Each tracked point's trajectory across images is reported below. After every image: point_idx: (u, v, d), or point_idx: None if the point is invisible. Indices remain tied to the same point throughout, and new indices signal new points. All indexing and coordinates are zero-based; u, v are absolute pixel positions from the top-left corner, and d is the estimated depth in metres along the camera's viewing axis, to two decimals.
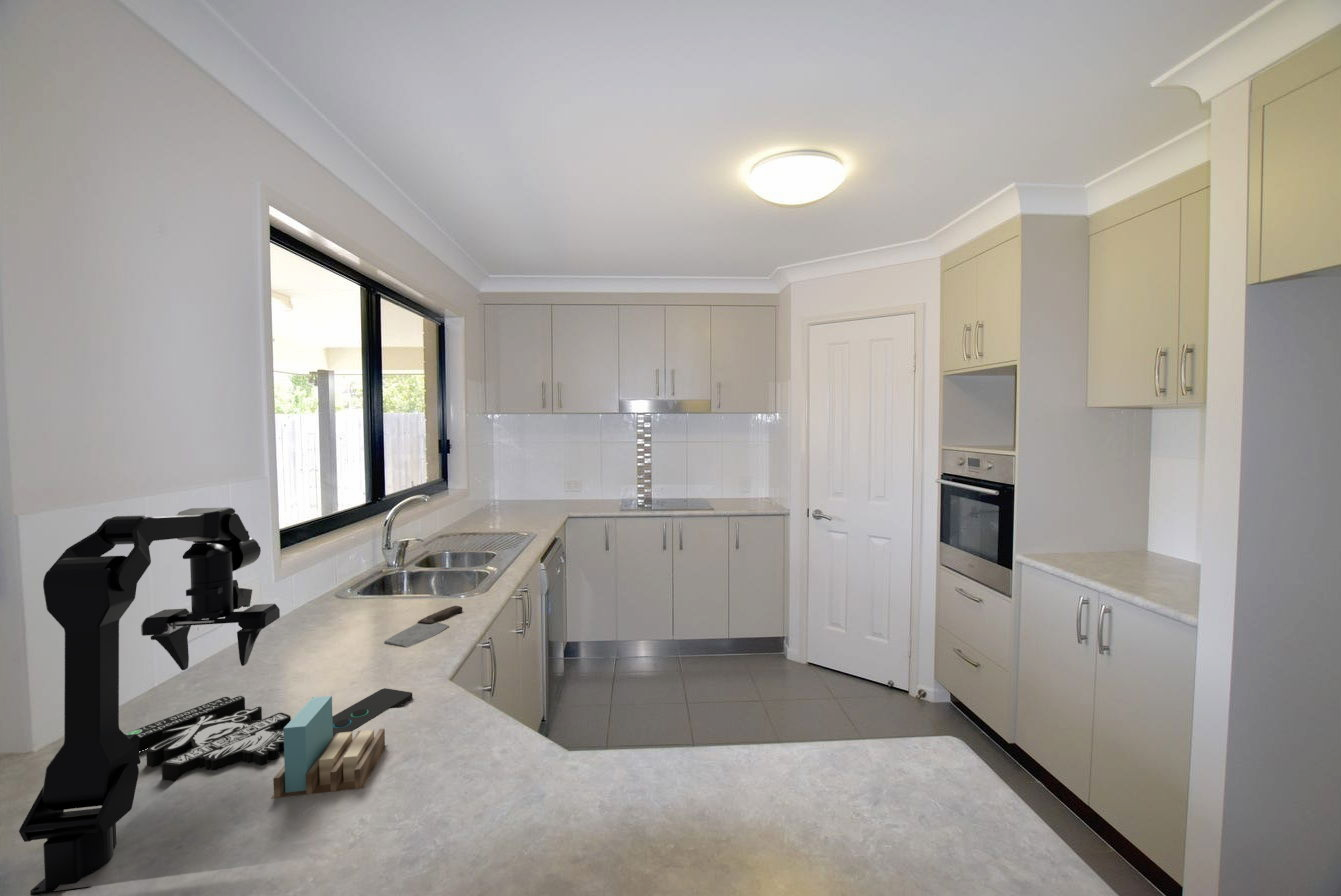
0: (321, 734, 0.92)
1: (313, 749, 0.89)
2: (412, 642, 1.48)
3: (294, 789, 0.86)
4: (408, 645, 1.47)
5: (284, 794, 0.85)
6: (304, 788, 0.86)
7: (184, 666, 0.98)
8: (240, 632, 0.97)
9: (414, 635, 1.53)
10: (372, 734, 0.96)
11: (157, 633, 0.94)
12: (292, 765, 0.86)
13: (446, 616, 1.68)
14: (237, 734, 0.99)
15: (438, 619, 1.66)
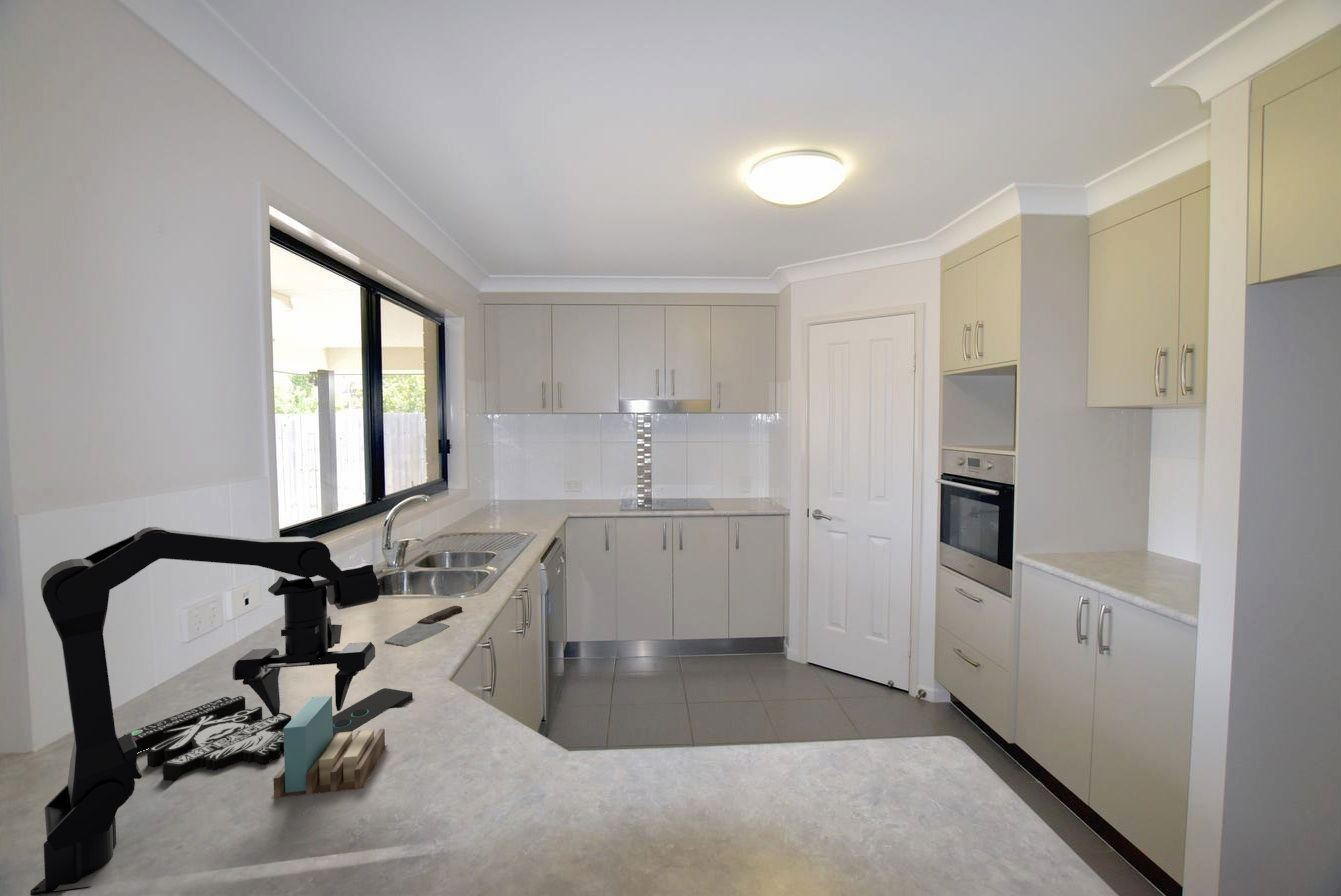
0: (321, 734, 0.92)
1: (313, 749, 0.89)
2: (413, 642, 1.49)
3: (294, 789, 0.86)
4: (408, 645, 1.47)
5: (284, 794, 0.85)
6: (304, 788, 0.86)
7: (276, 712, 0.89)
8: (338, 675, 0.89)
9: (414, 635, 1.53)
10: (372, 734, 0.96)
11: (250, 677, 0.86)
12: (292, 765, 0.86)
13: (446, 616, 1.68)
14: (238, 734, 0.99)
15: (438, 619, 1.66)
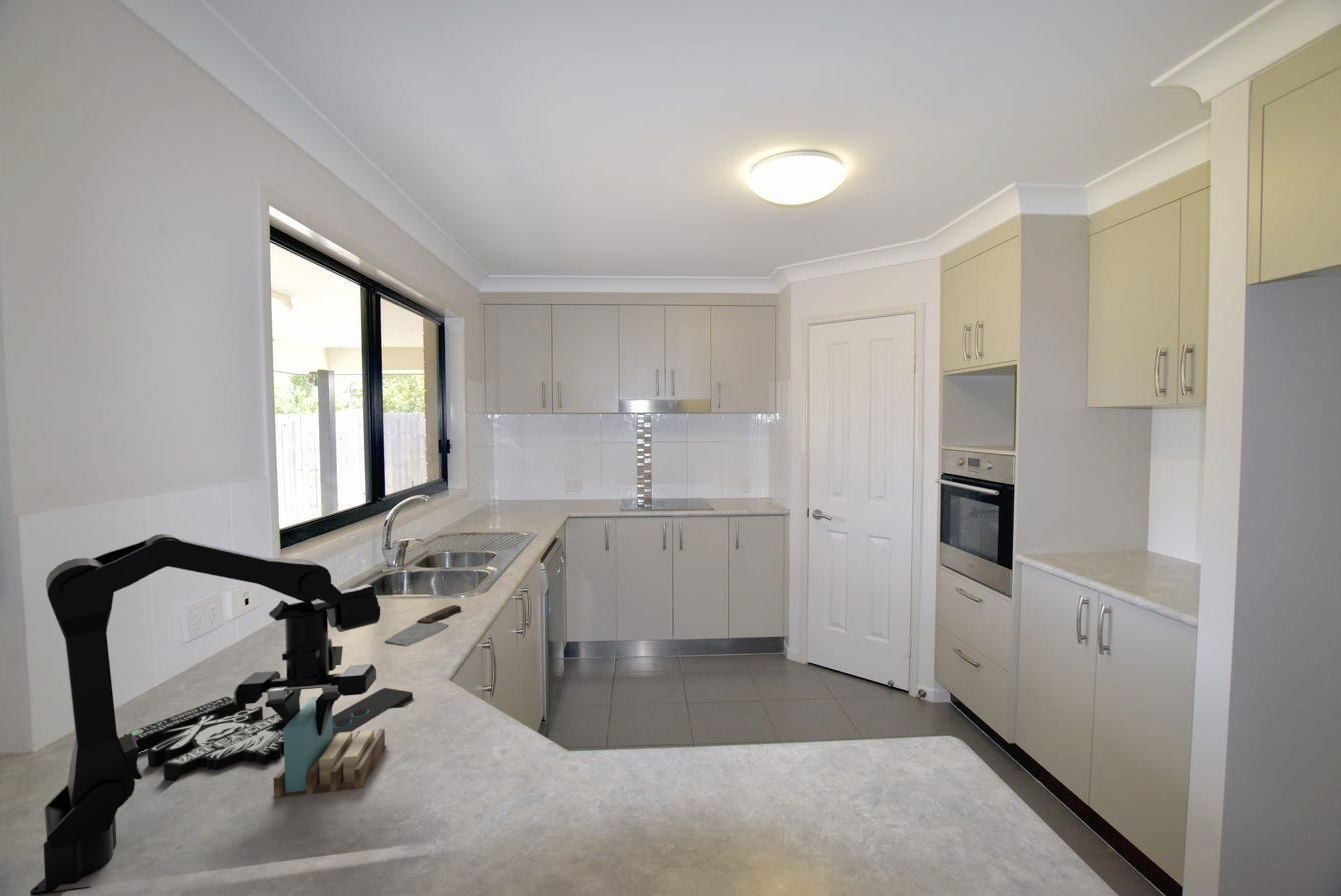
0: None
1: (313, 749, 0.89)
2: (413, 642, 1.49)
3: (294, 789, 0.86)
4: (409, 644, 1.47)
5: (284, 794, 0.85)
6: (304, 788, 0.86)
7: None
8: (319, 700, 0.88)
9: (414, 634, 1.53)
10: (372, 734, 0.96)
11: (251, 702, 0.86)
12: (292, 765, 0.86)
13: (445, 615, 1.69)
14: (239, 734, 0.99)
15: (437, 618, 1.66)
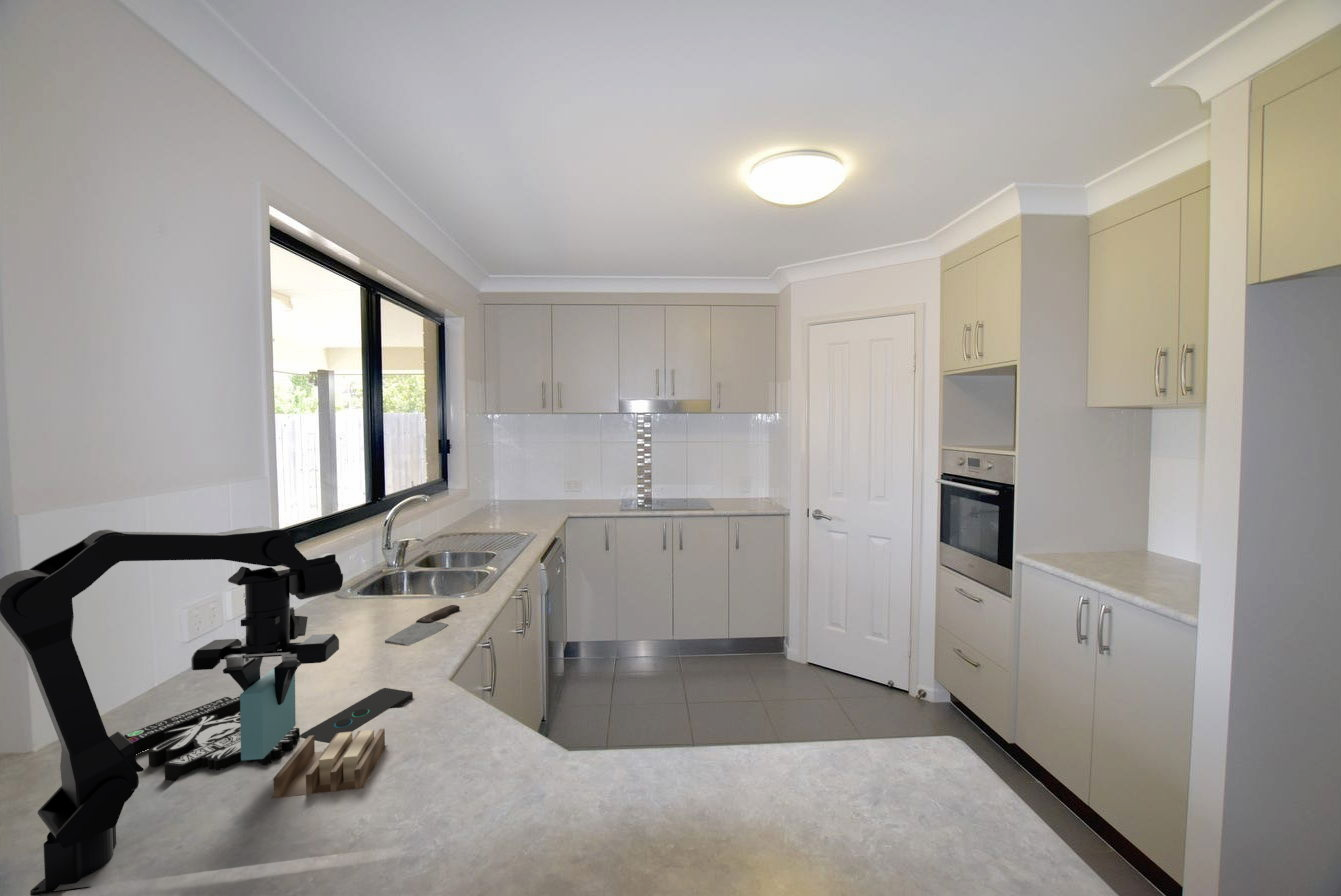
0: (281, 704, 0.90)
1: (272, 718, 0.87)
2: (413, 641, 1.50)
3: (250, 757, 0.85)
4: (409, 644, 1.48)
5: (284, 794, 0.85)
6: (260, 756, 0.85)
7: None
8: (278, 668, 0.87)
9: (414, 634, 1.54)
10: (372, 734, 0.96)
11: (209, 667, 0.85)
12: (248, 732, 0.84)
13: (444, 615, 1.69)
14: (239, 734, 0.99)
15: (436, 618, 1.67)
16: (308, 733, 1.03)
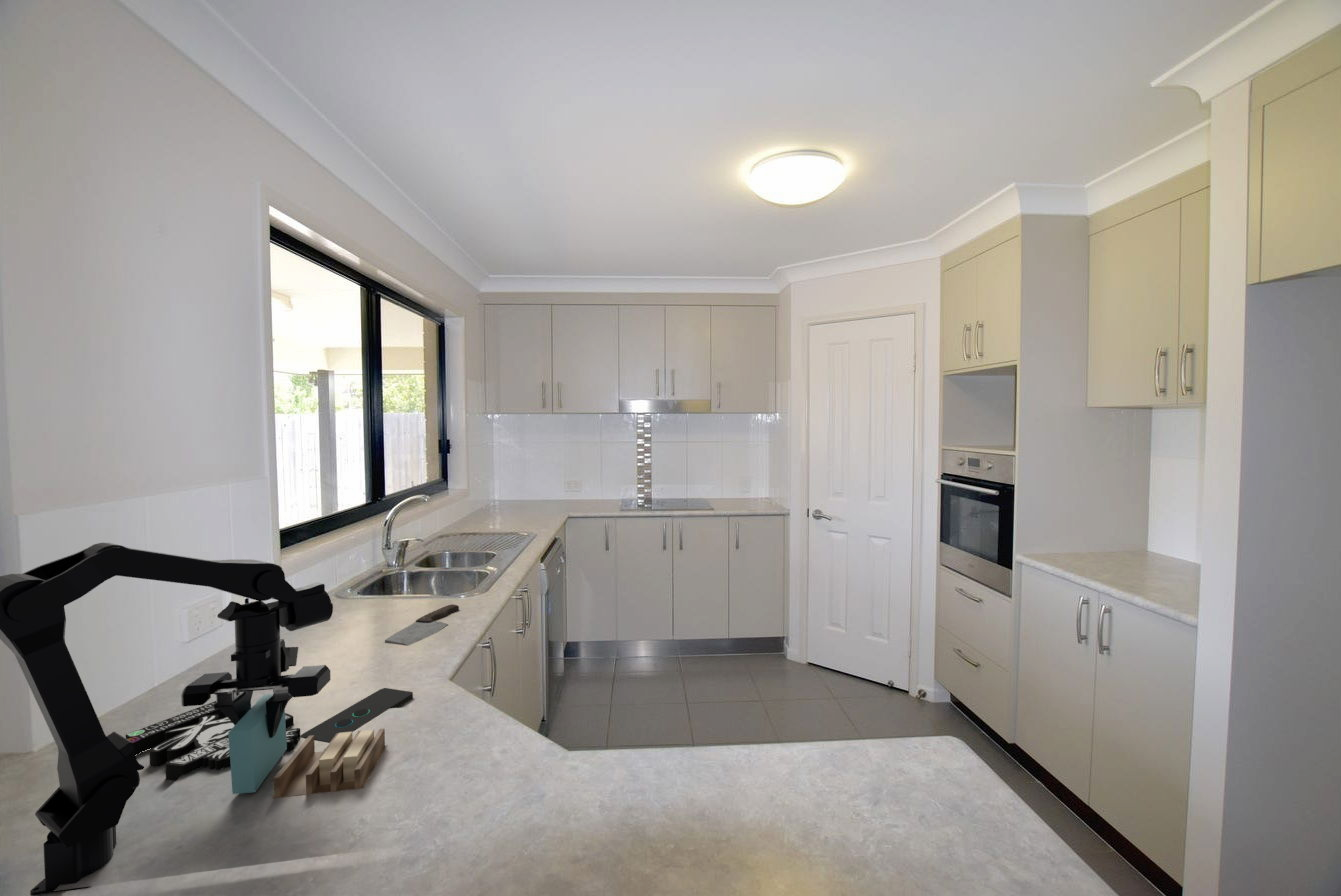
0: None
1: (262, 751, 0.87)
2: (413, 640, 1.50)
3: (241, 790, 0.85)
4: (409, 643, 1.48)
5: (284, 794, 0.85)
6: (252, 790, 0.85)
7: None
8: (269, 702, 0.87)
9: (414, 633, 1.54)
10: (372, 734, 0.96)
11: (199, 703, 0.85)
12: (238, 768, 0.84)
13: (443, 615, 1.69)
14: None
15: (436, 618, 1.67)
16: (309, 733, 1.02)
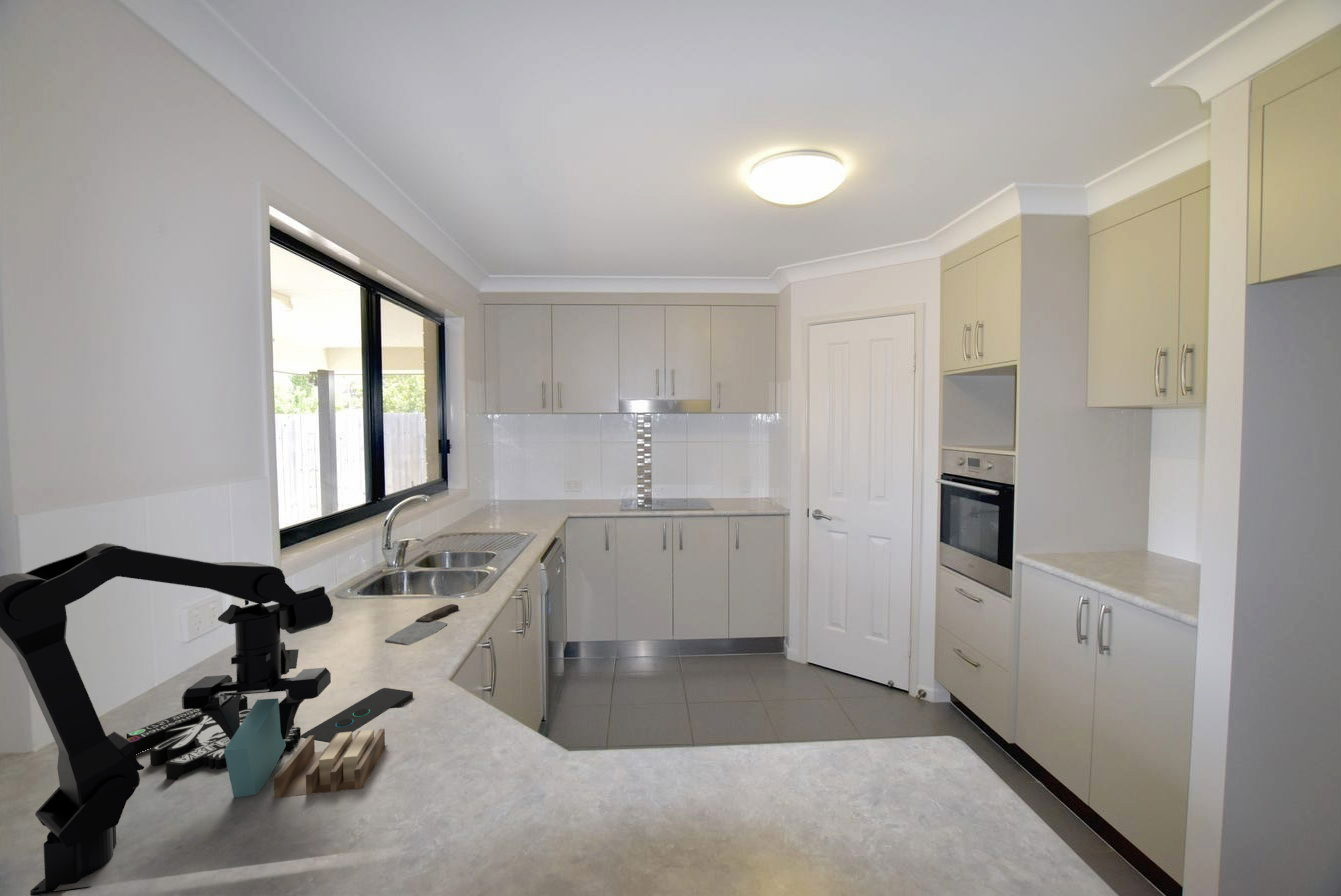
0: (268, 741, 0.89)
1: (260, 760, 0.87)
2: (414, 640, 1.50)
3: None
4: (410, 643, 1.48)
5: (284, 794, 0.85)
6: None
7: None
8: (282, 704, 0.87)
9: (414, 633, 1.54)
10: (372, 734, 0.96)
11: (199, 706, 0.85)
12: (238, 780, 0.84)
13: (443, 614, 1.70)
14: None
15: (435, 617, 1.67)
16: (309, 733, 1.02)
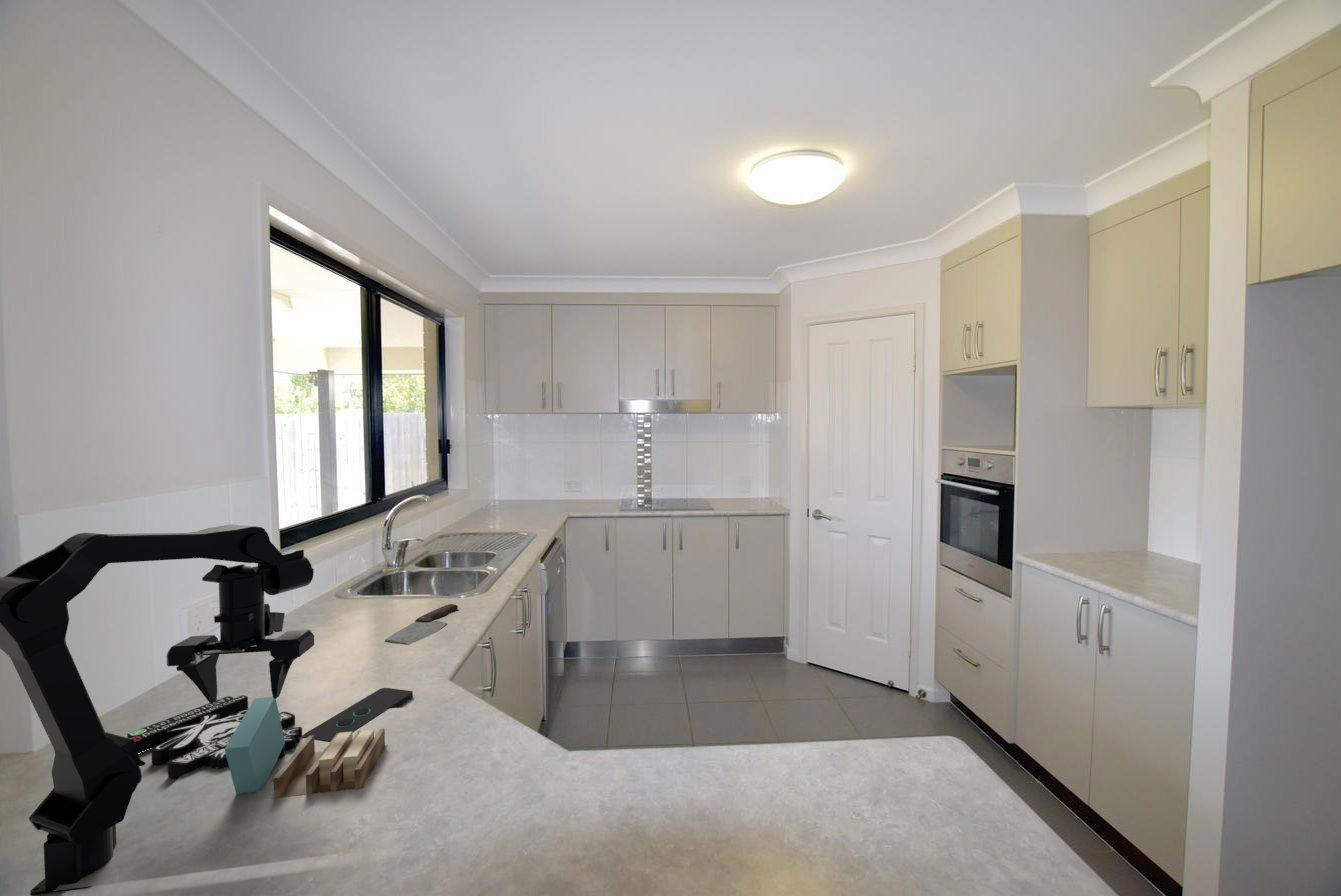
0: (268, 738, 0.90)
1: (261, 757, 0.87)
2: (414, 640, 1.50)
3: None
4: (410, 642, 1.49)
5: (284, 794, 0.85)
6: None
7: (212, 699, 0.89)
8: (272, 662, 0.88)
9: (414, 633, 1.55)
10: (372, 734, 0.96)
11: (183, 664, 0.86)
12: (240, 777, 0.85)
13: (443, 614, 1.70)
14: None
15: (435, 617, 1.68)
16: (310, 733, 1.02)
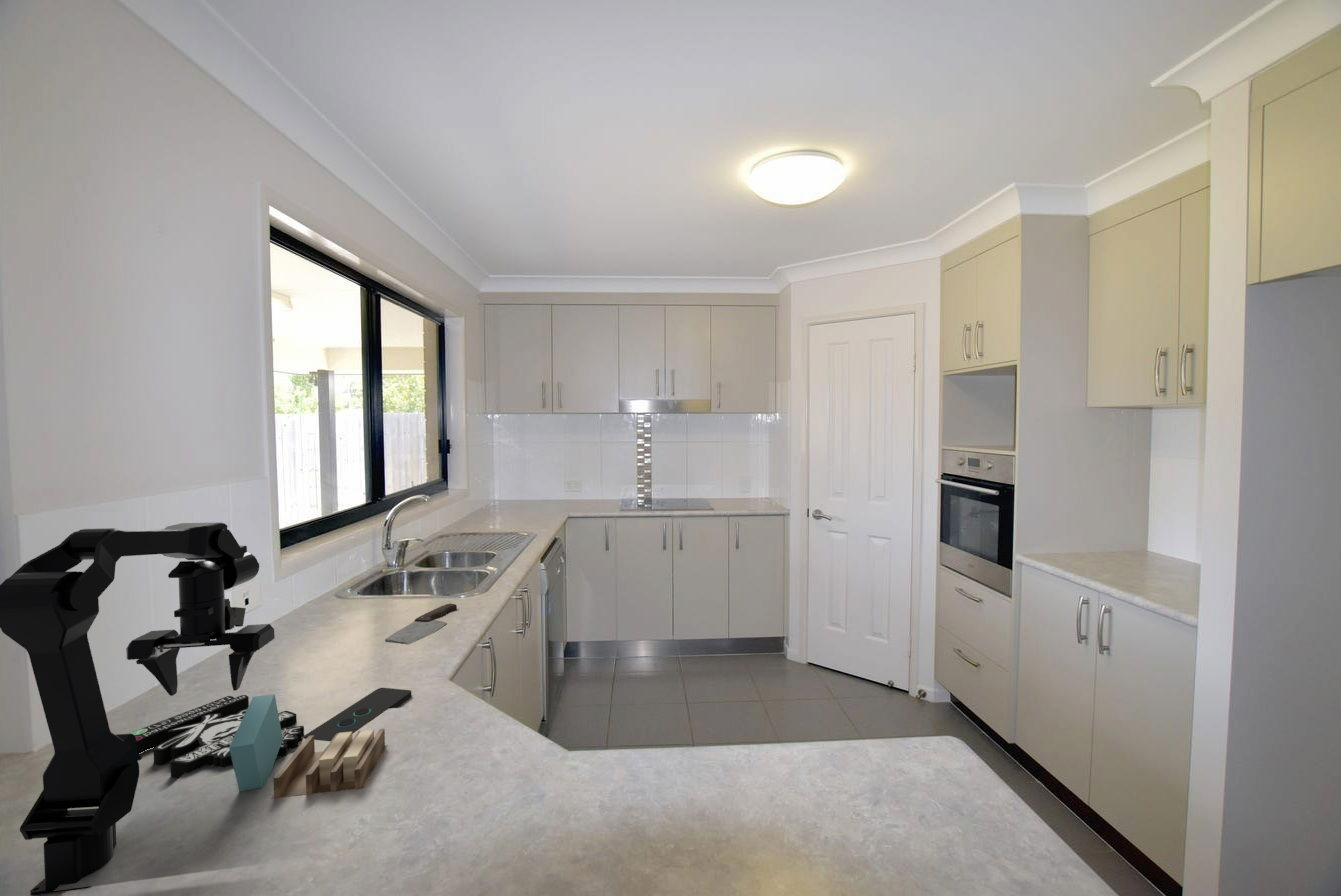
0: (269, 735, 0.90)
1: (264, 754, 0.88)
2: (414, 639, 1.51)
3: None
4: (410, 642, 1.49)
5: (284, 794, 0.85)
6: None
7: (172, 691, 0.92)
8: (232, 655, 0.91)
9: (414, 632, 1.55)
10: (372, 734, 0.96)
11: (143, 657, 0.89)
12: (244, 775, 0.86)
13: (442, 614, 1.70)
14: None
15: (434, 617, 1.68)
16: (312, 734, 1.02)
